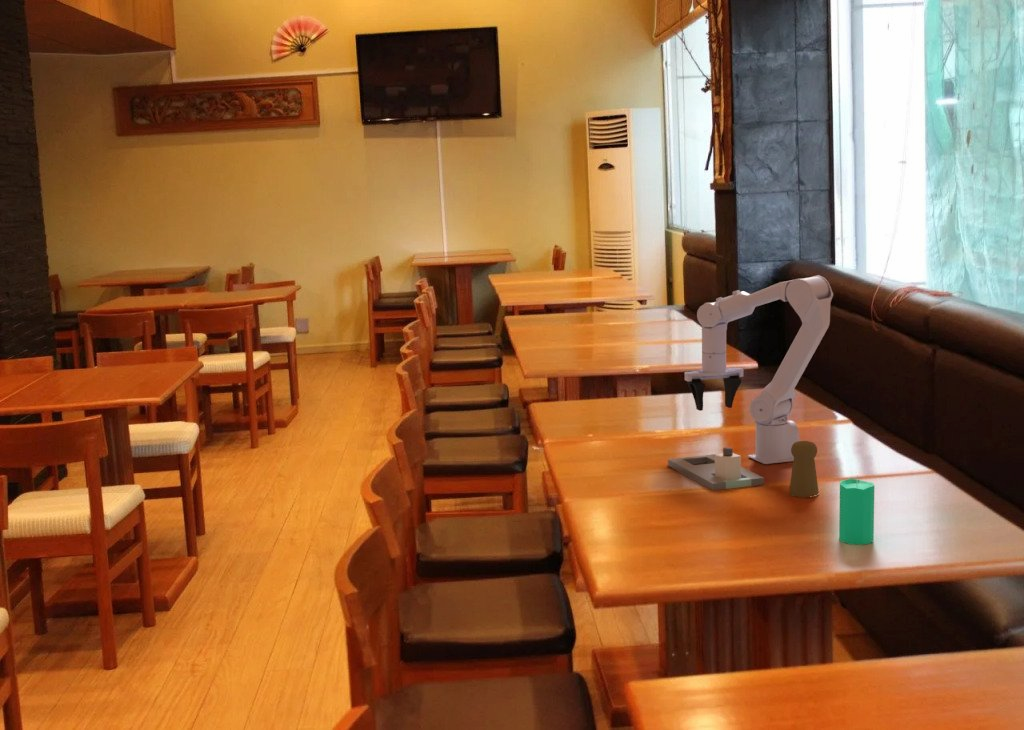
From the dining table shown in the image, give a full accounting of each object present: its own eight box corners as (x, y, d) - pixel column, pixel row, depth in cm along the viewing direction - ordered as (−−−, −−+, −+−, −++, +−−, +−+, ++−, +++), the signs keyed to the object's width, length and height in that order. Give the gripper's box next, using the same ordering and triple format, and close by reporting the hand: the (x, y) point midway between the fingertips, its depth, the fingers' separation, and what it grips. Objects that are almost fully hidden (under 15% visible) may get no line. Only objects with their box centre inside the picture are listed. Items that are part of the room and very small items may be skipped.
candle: (834, 535, 210) (834, 471, 208) (865, 533, 211) (866, 470, 209) (846, 545, 204) (847, 480, 202) (879, 543, 205) (880, 478, 203)
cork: (819, 498, 234) (820, 445, 233) (789, 497, 236) (789, 445, 234) (818, 490, 240) (818, 438, 238) (788, 489, 241) (788, 438, 240)
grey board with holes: (715, 460, 268) (715, 454, 267) (763, 484, 246) (763, 477, 246) (668, 465, 264) (668, 459, 264) (712, 490, 243) (712, 483, 242)
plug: (730, 478, 252) (730, 445, 250) (741, 482, 248) (741, 449, 247) (714, 481, 250) (714, 447, 249) (725, 485, 246) (725, 451, 245)
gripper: (733, 347, 279) (733, 402, 281) (678, 352, 275) (679, 407, 277) (747, 351, 272) (747, 408, 274) (691, 356, 268) (691, 413, 270)
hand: (714, 408), depth 275 cm, fingers open, 7 cm apart
